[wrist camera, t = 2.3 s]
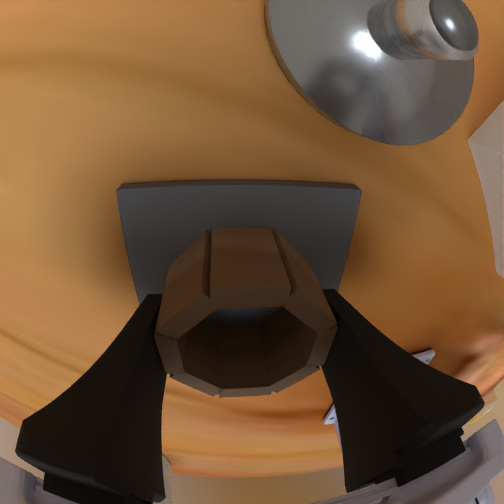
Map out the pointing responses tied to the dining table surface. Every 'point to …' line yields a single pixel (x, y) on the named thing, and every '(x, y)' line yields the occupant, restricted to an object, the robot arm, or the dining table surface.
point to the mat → (235, 215)
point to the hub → (378, 62)
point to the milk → (492, 176)
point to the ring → (242, 296)
